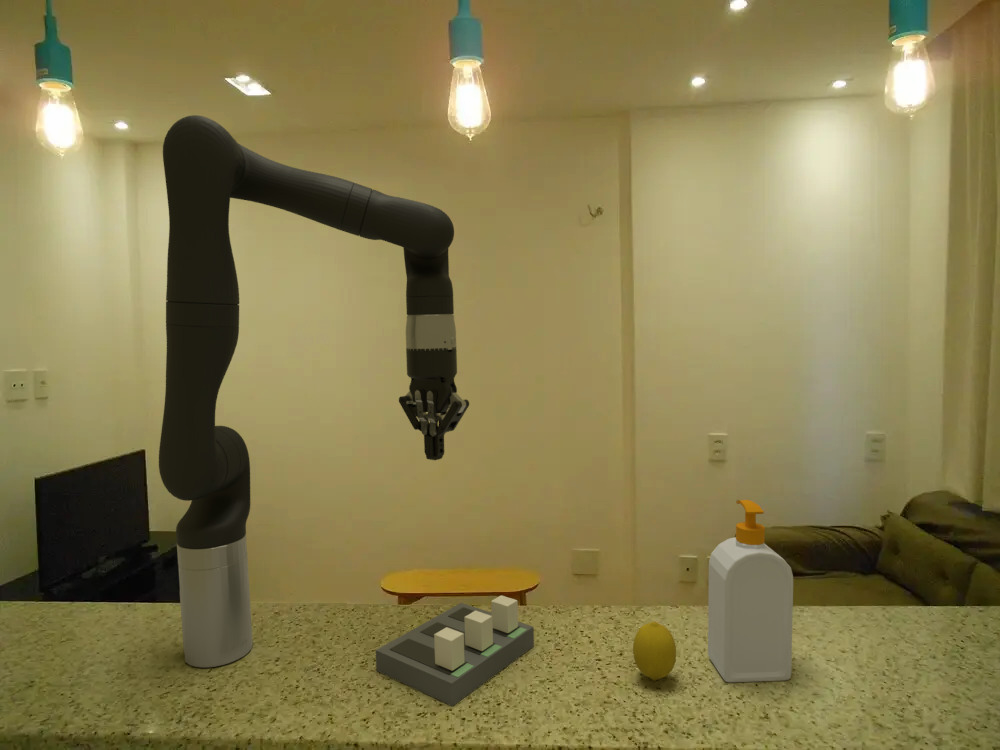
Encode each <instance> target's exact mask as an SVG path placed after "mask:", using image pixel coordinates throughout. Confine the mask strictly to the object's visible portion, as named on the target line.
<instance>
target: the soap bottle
mask: <svg viewBox="0 0 1000 750" xmlns="http://www.w3.org/2000/svg"><path fill="white" fill-rule="evenodd" d="M738 504H739V505H741V506H742V507H743V510H744V512H745V514H744V521H742V522H741V521H740V522H738V523H737V524H735V537H729V538H727V539H726V540H724V541H722V542H720V543H718V545H717V546H716V547H715V548H714V549H713V551H712V552H711V553H710V557H709V561H708V602H707V603H708V604H707V605H708V607H707V608H708V614H707V615H708V617H707V618H708V619H707V621H708V622H707V623H708V624H707V631H708V632H707V655H708V658H709V659H710V661H711V662H712V665H714V667H715V669H716V670H717V672H718V673H719V675H720V676H721V678H722V679H723V681H724V682H726V683H746V682H747V683H750V682H751V683H752V682H753V683H754V682H778V681H788V680H790V679H791V677H792V662H793V661H792V660H793V659H792V658H793V654H792V653H793V652H792V651H793V615H794V614H793V613H794V612H793V611H794V610H793V609H794V575H793V571H792V567H791V566H790V565H789V564H788V563H787V561H786V560H785V559H784V558H783V557H781V555H780V554H778V553H777V552H776V551H775V550H773V549H772V548H771V547H769V546H768V545H767V544H766V543H765V539H766V538H765V537H766V536H765V534H766V530H765V529H766V528H765V526H764V525H763V524H760V523H757V522H756V520H757V515H764V514H765V513H764V512H765V511H764V510H763V508H761V506H760V505H759V504H758V503H756V502H754V501H752V500H749V499H738V500H736V505H738Z"/></svg>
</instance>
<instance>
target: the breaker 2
mask: <svg viewBox="0 0 1000 750" xmlns="http://www.w3.org/2000/svg"><path fill="white" fill-rule="evenodd" d="M518 601H519V600H517V599H515V598H511V597H507V596H505V595H499V596H498V597H495V598H494V599H492V600H491V601H490V605H491V606H490V609H491V610H490V611H491V616H492V623H493V628H494V629H497V630H500V631H503V632H506V633H510V632H511V631H512V630H514V629H515V628H517V627H518V622H519V618H518V617H519V615H518V614H519V610H518V609H519V607H518V603H519V602H518Z"/></svg>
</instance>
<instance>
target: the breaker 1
mask: <svg viewBox="0 0 1000 750" xmlns="http://www.w3.org/2000/svg"><path fill="white" fill-rule="evenodd" d="M434 643H435V664H437V665H440V666H442V667H444V668H447V669H449V670H451V671H453V670H454V669H456V668H457V667H459V666H460V665H462V664H463V663H464V633H461V632H458V631H456V630H453V629H450V628H447V627H446V628H444V629H443V630H441V631H439V632H437V633H436V634H434Z"/></svg>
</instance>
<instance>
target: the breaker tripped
mask: <svg viewBox="0 0 1000 750" xmlns="http://www.w3.org/2000/svg"><path fill="white" fill-rule="evenodd" d="M464 619H465V645H467V646H470V647H472V648H475V649H478V650H480V651H483V650H485V649H486V648H488V647H489V646H491V645H492V644H493V623H492V616H490V615H487V614H484V613H482V612H479V611H474V612H472V613H470V614H469V615H467V616H465V617H464Z"/></svg>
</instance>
